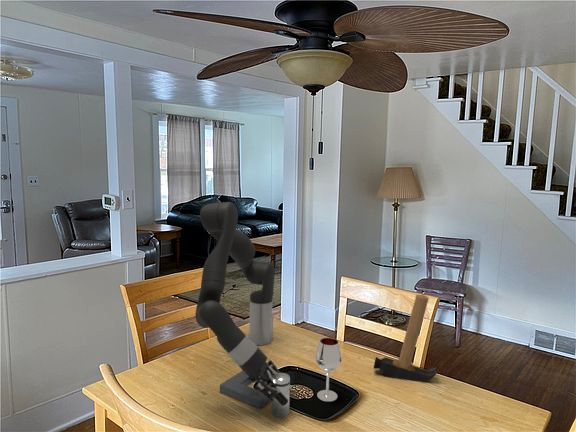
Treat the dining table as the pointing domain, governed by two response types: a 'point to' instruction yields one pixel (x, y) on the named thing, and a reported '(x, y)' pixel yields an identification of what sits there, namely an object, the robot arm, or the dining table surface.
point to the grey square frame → (244, 390)
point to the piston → (284, 387)
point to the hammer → (408, 349)
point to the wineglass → (328, 364)
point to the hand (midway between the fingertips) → (287, 398)
